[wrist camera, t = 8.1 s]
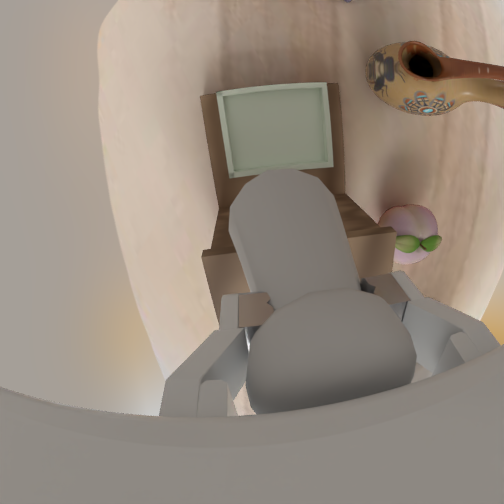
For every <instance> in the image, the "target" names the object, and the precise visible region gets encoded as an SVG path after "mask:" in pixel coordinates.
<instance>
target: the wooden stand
mask: <svg viewBox="0 0 504 504" xmlns="http://www.w3.org/2000/svg"><path fill="white" fill-rule="evenodd" d="M327 91H328V101H329V111H330V122H331V134H332V149H333V167H328V168H315V169H304V170H299V171H301V172H304V173H307V174H310V175H312V176H315V177H318V178H319V179H320V180H321V181H322V183H323V184H324V185H325V186H326V187H327V188H328V190H329V191H330V192H331V193H332V194H333V196H334V197H335V200H336V204H337V207H338V210H339V213H340V216H341V219H342V222H343V226H344V229H345V232H346V236H347V239H348V242H349V246H350V249H351V253H352V257H353V260H354V263H355V266H356V269H357V273H358V276H359V279H360V281H361V278H365V277H371V276H377V275H383V274H388V273H391V272H392V267H393V260H394V252H395V244H396V235H397V232H396V231H395V230H394V229H393V228H392V227H391V226H389V227H380V226H379V225H378V224H377V223H376V222H375V221H374V220H373V219H372V218H371V217H370V216H369V215H367V214H366V213H365V212H364V211H363V210H362V209H361V208H360V207H359V206H358V205H357V204H356V203H355V202H354V201H353V200H352V199H351V198H350V197H349V196H347V195H346V194H345V166H344V144H343V129H342V116H341V105H340V95H339V85H338V83H327ZM200 99H201V106H202V112H203V118H204V124H205V130H206V137H207V143H208V148H209V154H210V160H211V166H212V172H213V177H214V183H215V189H216V194H217V200H218V205H219V211H218V216H217V221H216V226H215V231H214V236H213V241H212V246H211V249H207V250H203V253H202V261H203V265H204V269H205V273H206V277H207V281H208V285H209V289H210V293H211V296H212V300H213V304H214V308H215V311H216V315H217V319H218V322H219V325H220V312H221V299H222V296H223V295H227V294H237V293H238V294H239V293H248V292H251V291H250V288H249V286H248V283H247V280H246V277H245V274H244V271H243V268H242V265H241V262H240V260H239V257H238V254H237V252H236V249H235V246H234V244H233V241H232V239H231V236H230V233H229V215H230V206H231V204H232V203H233V201H234V200H235V198H236V197H237V195H238V194H239V192H240V191H241V189H242V188H243V187H244V185H245V184H246V183H248V182H249V181H251V180H252V179H254V178H255V177H257V176H259V175H260V174H259V175H251V176H244V177H237V178H229V172H228V166H227V160H226V153H225V147H224V141H223V134H222V128H221V121H220V115H219V108H218V102H217V95H216V93H214V94H208V95H203V96H200Z"/></svg>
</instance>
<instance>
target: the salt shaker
mask: <svg viewBox="0 0 504 504" xmlns="http://www.w3.org/2000/svg"><path fill="white" fill-rule="evenodd" d="M229 233H230V236H231V239H232V241H233V244H234V246H235V249H236V252H237V254H238V257H239V260H240V262H241V265H242V268H243V271H244V274H245V277H246V280H247V283H248V286H249V288H250V291H251V292H258V291H263V292H267V293H268V295H269V296H270V298H271V299H270V301H269V305H270V306H272V307H273V310H274V312H273V314H272V315H271V316H270V317H269V318H268V319H267V320H266V321H265V322H264V324H263V325H262V326H261V327H260V328H259V329H258V330H257V331H256V332H255V334H254V336H253V338H252V340H251V342H250V348H249V355H248V362H247V373H246V389H247V393H248V397H249V401H250V405H251V408H252V409H253V410H254V412H255V413H256V414H267V413H277V412H285V411H292V410H299V409H306V408H312V407H318V406H323V405H329V404H334V403H339V402H344V401H348V400H353V399H357V398H361V397H365V396H369V395H373V394H377V393H381V392H384V391H388V390H391V389H395V388H398V387H401V386H405V385H408V384H411V382H412V379H413V377H414V373H415V366H416V359H417V354H416V351H415V347H414V344H413V341H412V338H411V335H410V333H409V332H408V330H407V329H406V327H405V326H404V324H403V323H402V322H401V320H400V319H399V317H398V316H397V315H396V314H395V312H394V311H393V310H392V308H391V307H390V306H389V305H388V303H387V302H386V301H385V300H384V299H383V298H381V297H379V296H378V295H375V294H372V293H368V292H364V291H361V287H360V279H359V276H358V273H357V269H356V266H355V263H354V260H353V257H352V253H351V249H350V246H349V242H348V239H347V236H346V232H345V229H344V226H343V222H342V219H341V216H340V213H339V210H338V207H337V204H336V200H335V197H334V196H333V194H332V193H331V192H330V191H329V190H328V188H327V187H326V186H325V185H324V184H323V183H322V181H321V180H320V179H319V178H318V177H315V176H312V175H310V174H307V173H304V172H301V171H299V170H296V169H293V168H291V169H277V170H266V171H265V172H263V173H262V174H260V175H259V176H257V177H255V178H254V179H252V180H251V181H249V182H248V183H246V184H245V185H244V187H243V188H242V189H241V191H240V192H239V194H238V195H237V197H236V198H235V200H234V201H233V203H232V204H231V206H230V215H229Z"/></svg>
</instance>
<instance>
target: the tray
mask: <svg viewBox="0 0 504 504" xmlns="http://www.w3.org/2000/svg"><path fill="white" fill-rule="evenodd" d="M216 95H217V102H218V108H219V115H220V121H221V128H222V134H223V141H224V147H225V153H226V160H227V166H228V172H229V178H237V177H244V176H251V175H259V174H262V173H263V172H265V171H266V170H277V169H291V168H293V169H296V170H304V169H315V168H328V167H333V149H332V134H331V122H330V111H329V101H328V91H327V83H326V82H314V83H291V84H276V85H265V86H256V87H247V88H239V89H232V90H225V91H219V92H216Z"/></svg>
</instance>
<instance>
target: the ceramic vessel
mask: <svg viewBox="0 0 504 504" xmlns="http://www.w3.org/2000/svg"><path fill="white" fill-rule="evenodd" d="M366 79H367V82H368V84H369V86H370V88H371V89H372V91H373V92H374V93H375V94H376V95H377V96H378V97H379V98H380V99H381V100H383V101H384V102H385V103H387V104H389V105H390V106H392V107H394V108H396V109H398V110H401V111H404V112H407V113H411V114H415V115H423V116H434V115H441V114H445V113H448V112H450V111H452V110H454V109H456V108H457V107H459V106H460V105H462V104H463V103H466V102H471V101H480V102H486V103H490V104H493V105H496V106H498V107H501V108H503V109H504V67H503V66H498V65H492V64H486V63H479V62H473V61H466V60H460V59H454V58H450V57H449V56H447V55H446V54H444V53H443V52H441V51H439V50H437V49H435V48H433V47H430V46H427V45H425V44H423V43H421V42H417V41H409V42H401V43H394V44H390V45H387V46H385V47H383V48H381V49H379V50H378V51H376V52H375V53H374V54H373V55H372V56H371V57H370V59H369V61H368V63H367V65H366ZM494 79H496V80H494ZM500 80H501V81H500Z"/></svg>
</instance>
